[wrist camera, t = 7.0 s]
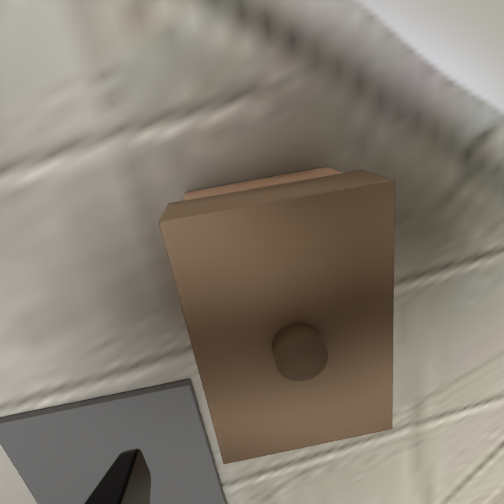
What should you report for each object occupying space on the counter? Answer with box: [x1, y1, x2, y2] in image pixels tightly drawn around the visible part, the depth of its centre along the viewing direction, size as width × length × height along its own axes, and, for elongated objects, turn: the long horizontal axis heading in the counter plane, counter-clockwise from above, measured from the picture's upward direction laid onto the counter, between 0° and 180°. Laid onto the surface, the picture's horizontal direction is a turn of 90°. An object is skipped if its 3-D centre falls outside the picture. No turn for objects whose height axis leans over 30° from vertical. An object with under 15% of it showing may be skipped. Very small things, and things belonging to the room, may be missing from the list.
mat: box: [0, 379, 227, 504], centre depth 19 cm, size 12×10×1 cm
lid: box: [159, 170, 395, 464], centre depth 11 cm, size 10×6×3 cm
